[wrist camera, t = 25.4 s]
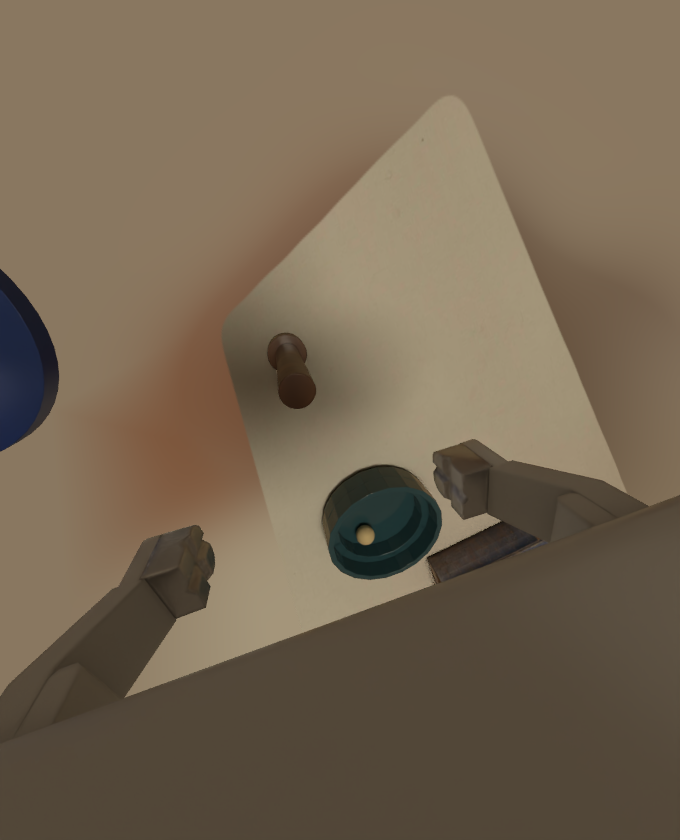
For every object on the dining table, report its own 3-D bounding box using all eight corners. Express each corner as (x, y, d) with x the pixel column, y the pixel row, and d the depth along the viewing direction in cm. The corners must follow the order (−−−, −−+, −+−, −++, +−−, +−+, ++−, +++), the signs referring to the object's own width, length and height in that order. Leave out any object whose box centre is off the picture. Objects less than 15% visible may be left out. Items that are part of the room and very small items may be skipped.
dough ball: (380, 534, 46) (373, 550, 44) (365, 532, 48) (358, 547, 46) (372, 522, 45) (364, 538, 43) (357, 520, 47) (349, 535, 45)
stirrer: (273, 373, 34) (274, 427, 20) (263, 337, 32) (256, 368, 18) (308, 365, 35) (334, 412, 21) (300, 329, 33) (321, 353, 19)
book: (565, 583, 57) (455, 637, 56) (537, 555, 63) (438, 604, 62) (565, 528, 49) (438, 589, 48) (533, 503, 55) (420, 557, 54)
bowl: (334, 561, 49) (342, 593, 44) (310, 483, 42) (316, 511, 36) (425, 530, 52) (443, 557, 46) (419, 450, 44) (439, 472, 39)
